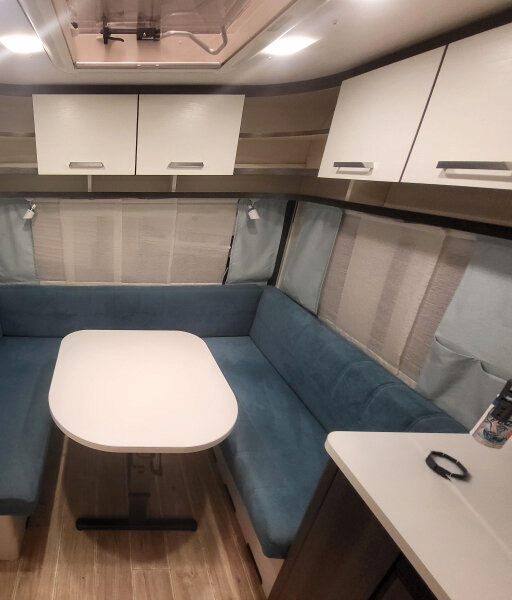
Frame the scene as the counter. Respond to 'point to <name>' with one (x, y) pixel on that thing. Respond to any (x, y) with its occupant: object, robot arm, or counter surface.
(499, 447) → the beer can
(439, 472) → the black ring
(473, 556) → the counter surface
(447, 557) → the counter surface
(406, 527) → the counter surface
